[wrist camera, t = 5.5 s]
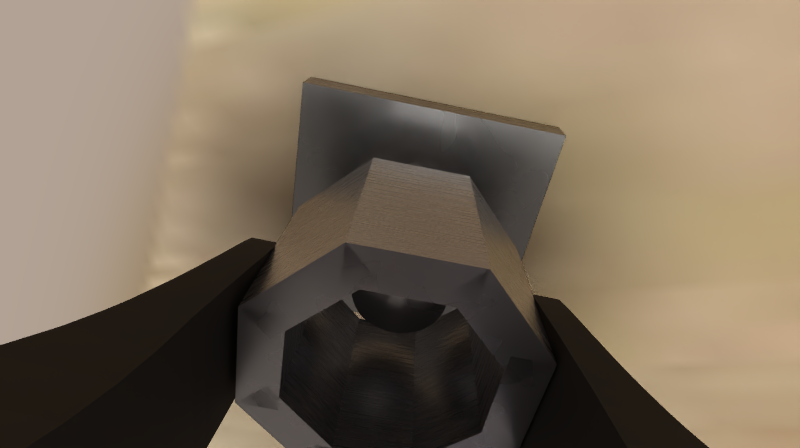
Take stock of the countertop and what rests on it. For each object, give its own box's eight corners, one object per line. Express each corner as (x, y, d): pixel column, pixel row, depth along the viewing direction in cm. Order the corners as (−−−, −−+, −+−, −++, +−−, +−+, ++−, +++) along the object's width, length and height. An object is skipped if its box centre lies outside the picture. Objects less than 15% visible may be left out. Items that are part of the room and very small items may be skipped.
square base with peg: (491, 323, 16) (506, 428, 12) (292, 283, 16) (244, 376, 12) (559, 127, 13) (608, 185, 9) (310, 77, 13) (254, 113, 9)
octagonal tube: (476, 363, 13) (495, 502, 10) (287, 329, 13) (233, 457, 9) (536, 189, 11) (591, 288, 7) (304, 143, 10) (240, 221, 7)
